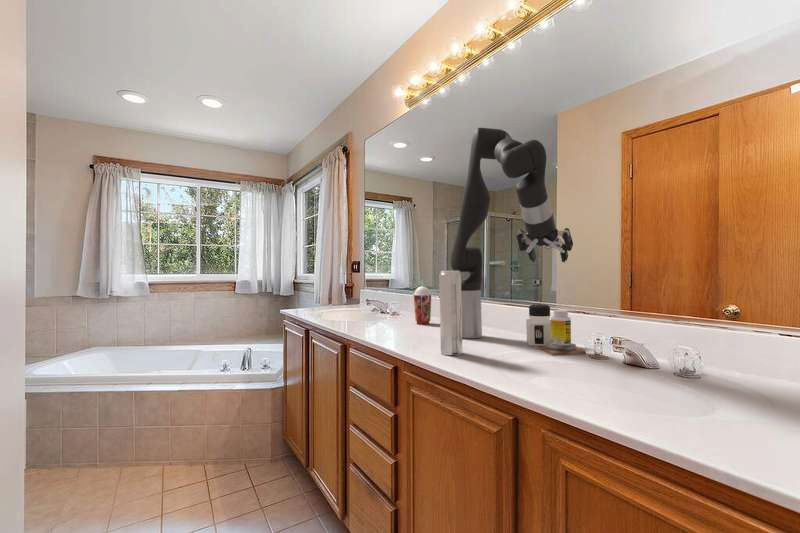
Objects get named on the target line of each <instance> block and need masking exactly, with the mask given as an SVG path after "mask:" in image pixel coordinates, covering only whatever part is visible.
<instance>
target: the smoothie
mask: <svg viewBox="0 0 800 533" xmlns="http://www.w3.org/2000/svg"><path fill="white" fill-rule="evenodd" d="M420 284H421V286H419V287H417V288H415V290H414V293H413V302H414V303H413V305H414V317H415V322H416V324H417V325H421V324H422V325H424V326H425V325H429V324H430V322H431V313H432V310H431V308H432V293H431V291H430V289H429V288H428V287H426V286H424V281H423V279H421V282H420Z"/></svg>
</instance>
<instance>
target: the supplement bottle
mask: <svg viewBox="0 0 800 533" xmlns="http://www.w3.org/2000/svg"><path fill="white" fill-rule="evenodd" d="M550 320H551V343H552V344H554V345H558V346H568V345H570V344H571V343H572V323H571V322H572V319H571V317H570V316H569V312H568V310H567V309H554V310H553V316H550Z"/></svg>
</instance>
